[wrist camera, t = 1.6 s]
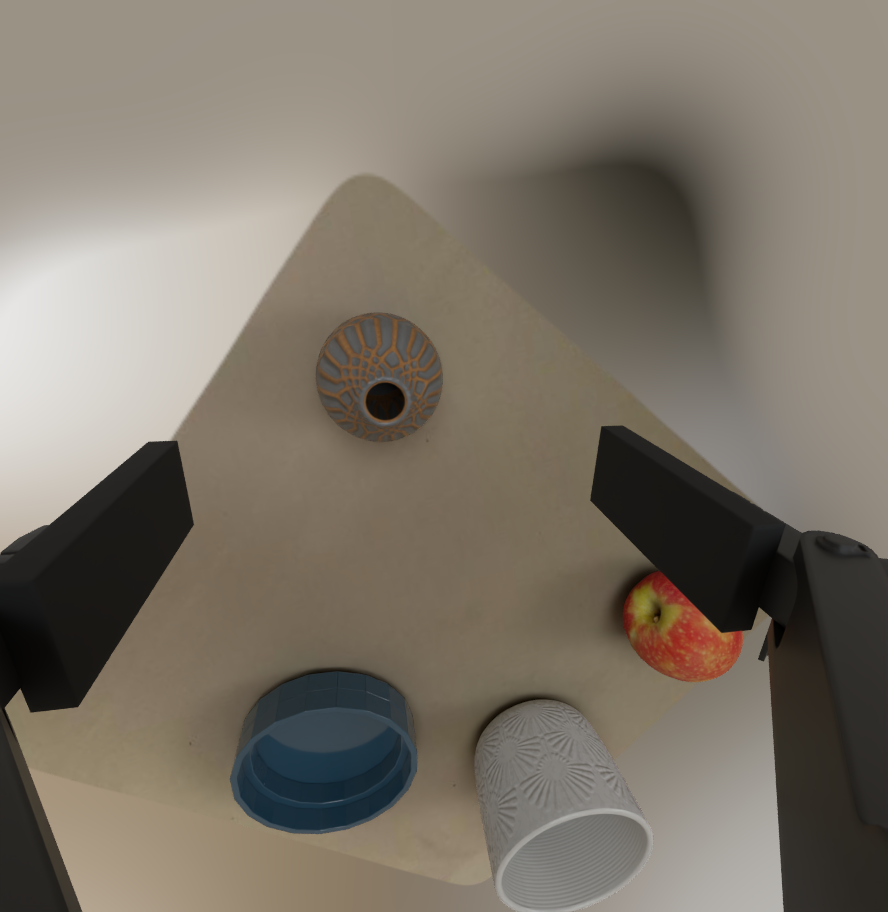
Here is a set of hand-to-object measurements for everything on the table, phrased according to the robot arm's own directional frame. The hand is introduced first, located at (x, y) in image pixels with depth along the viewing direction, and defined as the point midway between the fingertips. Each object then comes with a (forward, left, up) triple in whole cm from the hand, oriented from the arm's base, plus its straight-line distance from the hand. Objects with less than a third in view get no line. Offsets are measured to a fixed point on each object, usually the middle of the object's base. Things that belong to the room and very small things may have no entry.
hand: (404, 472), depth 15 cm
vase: (0, 0, -16) cm, 16 cm away
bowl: (+31, -5, -16) cm, 35 cm away
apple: (+20, +23, -16) cm, 34 cm away
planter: (+35, +13, -16) cm, 41 cm away
